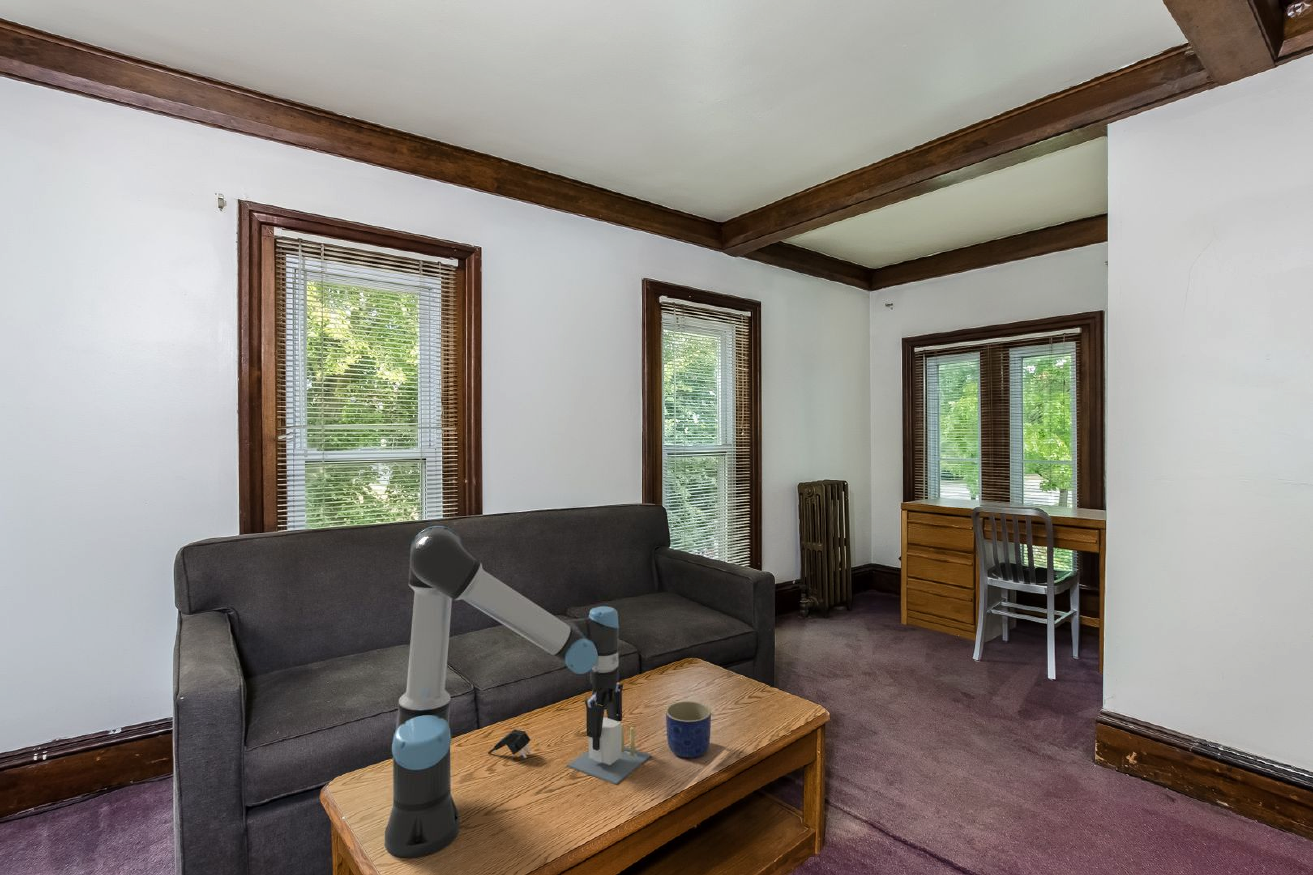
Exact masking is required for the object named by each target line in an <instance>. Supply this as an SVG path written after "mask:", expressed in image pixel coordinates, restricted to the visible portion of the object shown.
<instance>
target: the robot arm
mask: <svg viewBox="0 0 1313 875" xmlns="http://www.w3.org/2000/svg"><path fill="white" fill-rule="evenodd" d="M462 543H463V542H462V539H461V537H460V536H459V534H458V533H456V532H455V531H454V530H453V529H451V528H450V527H447V526H443V525H442V526H441V525H434V526H430V527H427V528H424V530H421V531H420V532H419V533H418V534H417V535H415V538H414V539H413V540H412V541H411V546H410V555H409V571H408V572H409V573H408V586H409V588H411V589H412V590H413V593H414V594H413V595H414V597H413V608H412V620H411V633H410V644H409V658H408V669H407V681H406V691H405V692H404V693H403V695H401V696H400V698H399V699H398V704H397V705H398V707H397V708H398V709H397V718H396V723H395V733H394V734H393V739H392V744H391V753H392V768H393V769H392V777H393V778H392V780H393V781H392V782H393V784H392V786H393V787H392V788H393V790H392V791H393V792H392V796H393V797H392V800H393V801H392V802H393V804H392V808H391V812H390V814H389V819H388V823H387V825H386V828H385V829H384V830H385V831H384V847H385V850H386V851H387V853H388V854H391V855H392V856H394V857H397V858H402V859H414V858H421V857H425V856H428V855H431V854H434V853H436V852H438V851H440V850H442V849H444V848H446V847H447V846H448V845H449V844H451V843H452V842H453V841H454V840H455V839H456V837H457V835H458V834H459V831H460V816H459V815H460V814H459V811H458V809H457V807H456V803H455V800H454V798H453V796H452V792H451V789H452V788H451V782H452V781H451V779H452V778H451V743H452V734H451V728H450V725H449V724H450V711H451V710H450V708H451V697H452V696H451V695H450V694H449V692H448V691H447V690H446V678H447V668H448V667H447V665H448V652H449V640H450V627H451V615H452V602H453V601H459V600H460V601H461V600H463V601H465V602H466V603H468V604H470V605H471V606H473V607H474V608H476V609H478V610H480V611H481V612H483V614H485V615H487V616H489V617H491V618H493V619H494V620H496V621H497V622H498V623H500V624H502V625H503V626H505V627H506V628H508V629H509V630H511V631H513V632H515V633H516V634H517V635H520V636H521V637H522V638H524V639H526V640H528V641H529V642H531V643H533V644H534V645H536V646H538V647H539V648H540V649H542V650H544V651H545V652H546V653H548V654H550V655H552V656H553V657H554V658H556V659H557V660H558V661H561V662H562V663H564V664H565V665H566V667H567V668H568V669H569V670H570V671H572V672H573V673H575V674H580V675H581V674H586V673H588V672H589V673H590V674H589V681H590V682H589V683H590V684H591V685H592V692H591V697H589V698H585V700H584V704H585V707H586V725H585V726H586V737H588V738H589V737H591V738H592V741H593V760H595V761H598V762H601V763H602V762H603V736H601V732H602V725H603V718H604V717H605V712H606V716H607V717H606V718H609V719H612V720H615V721H619V722H622V720H623V690H624V684H623V683H620V682H619V680H620V679H619V678H620V674H619V670H620V669H619V628H620V625H619V617H618V616H619V615H618V614H619V613H618V611H617V610H616V608H614V607H611V606H597V607H593V608H591V609H590V611H589V615H588V617H584V618H577V619H566V620H561V619H559V618H558V617H556V616H555V615H553V614H552V613H550V612H549V611H547V610H545V609H544V608H542V607H541V606H539V605H538V604H536V603H535V602H533V601H532V600H530V599H529V598H527V597H525V596H524V595H522V594H521V593H519V592H518V591H517V590H514V589H513V588H511V587H510V586H508V585H507V584H505V583H504V582H502V581H501V580H500V579H498V578H496V577H494V576H493V575H492V574H490V573H489V572H487V571H485V570H484V569H483V565H482V562H480V561H479V560H477V559H476V558H474V557H473V556H472V555H471V554H470V553H469V552H468V551H466V550H465V548H464V547H463V544H462Z"/></svg>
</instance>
